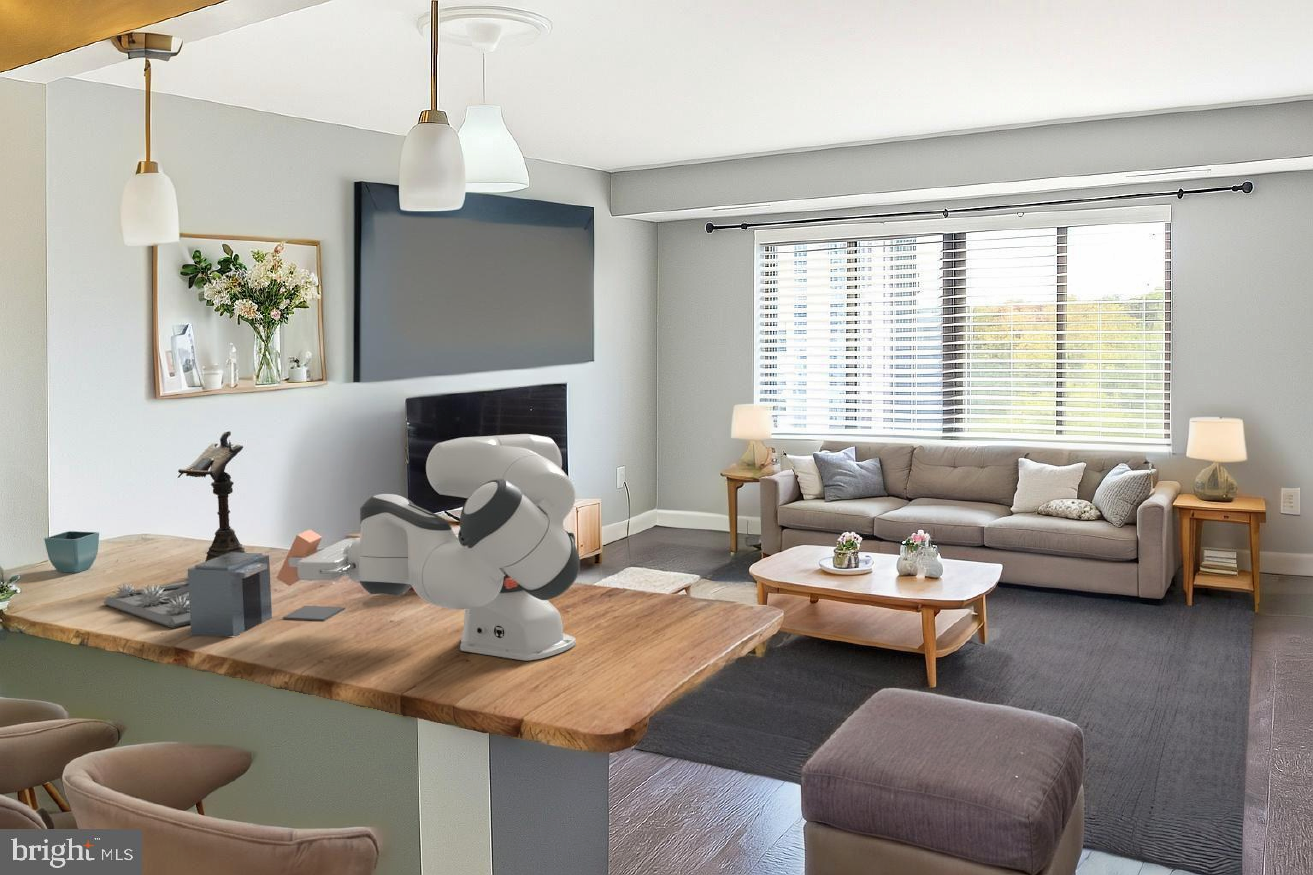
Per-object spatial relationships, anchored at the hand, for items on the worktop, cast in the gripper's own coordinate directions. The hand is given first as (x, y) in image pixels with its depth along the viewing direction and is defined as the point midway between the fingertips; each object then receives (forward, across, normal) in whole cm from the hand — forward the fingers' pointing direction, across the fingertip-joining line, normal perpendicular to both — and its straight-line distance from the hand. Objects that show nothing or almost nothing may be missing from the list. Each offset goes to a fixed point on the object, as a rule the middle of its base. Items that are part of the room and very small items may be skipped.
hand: (298, 557), depth 207 cm
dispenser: (+15, 0, -15) cm, 21 cm away
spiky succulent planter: (+34, +13, -16) cm, 39 cm away
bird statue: (+41, +39, -16) cm, 59 cm away
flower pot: (+81, +39, -16) cm, 91 cm away
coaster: (+3, +11, -15) cm, 19 cm away
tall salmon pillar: (+2, 0, -4) cm, 5 cm away
